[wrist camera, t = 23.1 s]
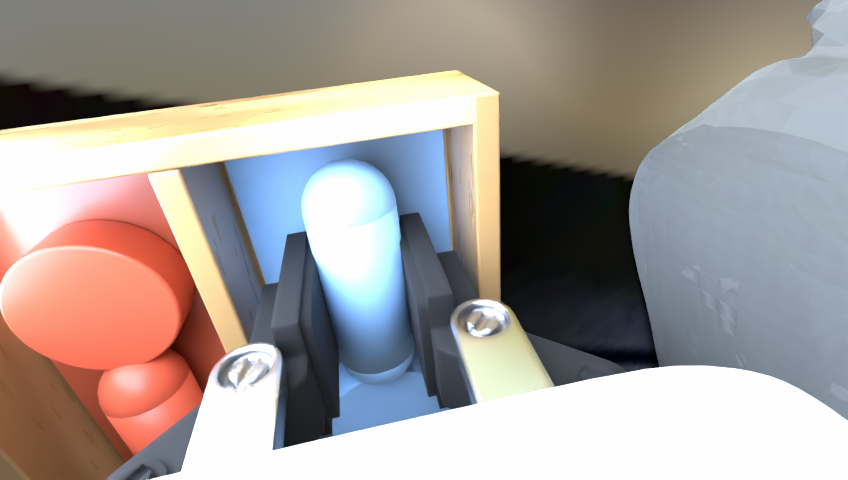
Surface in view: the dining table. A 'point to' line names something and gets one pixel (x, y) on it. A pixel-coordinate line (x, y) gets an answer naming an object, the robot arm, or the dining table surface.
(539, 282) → the dining table surface
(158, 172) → the caddy
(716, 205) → the rock
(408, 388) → the blue disc-ended peg
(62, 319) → the red knob peg
